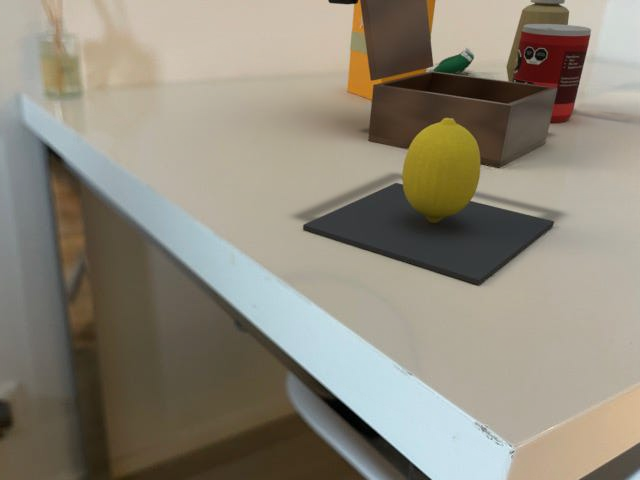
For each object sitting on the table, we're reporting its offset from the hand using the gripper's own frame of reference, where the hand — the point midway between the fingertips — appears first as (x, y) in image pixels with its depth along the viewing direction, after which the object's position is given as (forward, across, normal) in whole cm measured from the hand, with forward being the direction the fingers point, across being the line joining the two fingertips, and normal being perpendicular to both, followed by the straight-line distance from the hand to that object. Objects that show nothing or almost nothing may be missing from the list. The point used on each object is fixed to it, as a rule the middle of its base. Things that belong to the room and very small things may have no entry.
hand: (342, 3), depth 78 cm
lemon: (+13, -26, -27) cm, 40 cm away
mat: (+13, -26, -27) cm, 40 cm away
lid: (-1, 0, -7) cm, 7 cm away
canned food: (+14, +20, -19) cm, 31 cm away
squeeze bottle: (+14, +36, -12) cm, 40 cm away
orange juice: (+14, +18, +3) cm, 23 cm away
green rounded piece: (+14, +43, +4) cm, 45 cm away
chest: (+13, 0, -17) cm, 21 cm away
